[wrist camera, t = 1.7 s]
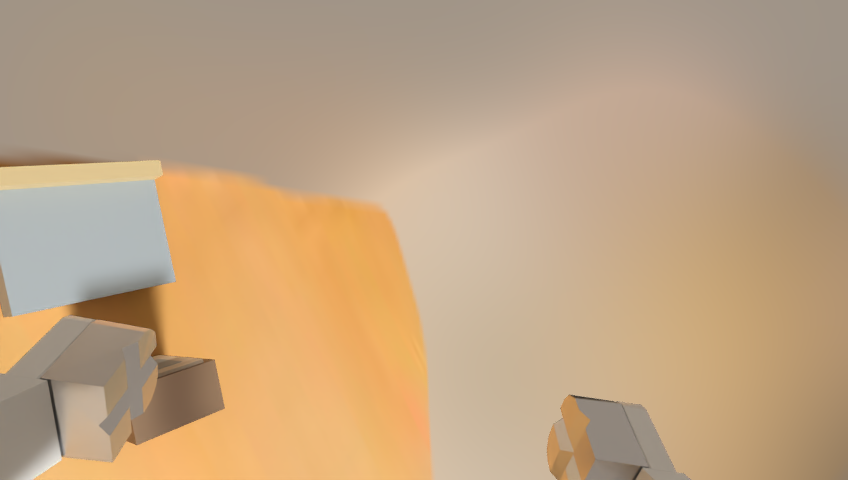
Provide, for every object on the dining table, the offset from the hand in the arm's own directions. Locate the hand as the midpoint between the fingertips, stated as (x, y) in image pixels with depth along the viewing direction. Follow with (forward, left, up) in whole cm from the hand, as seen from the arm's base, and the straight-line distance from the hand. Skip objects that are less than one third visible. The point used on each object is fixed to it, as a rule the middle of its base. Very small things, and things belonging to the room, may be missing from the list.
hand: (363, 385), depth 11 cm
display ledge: (+3, +7, -31) cm, 32 cm away
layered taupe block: (+6, -3, -31) cm, 32 cm away
